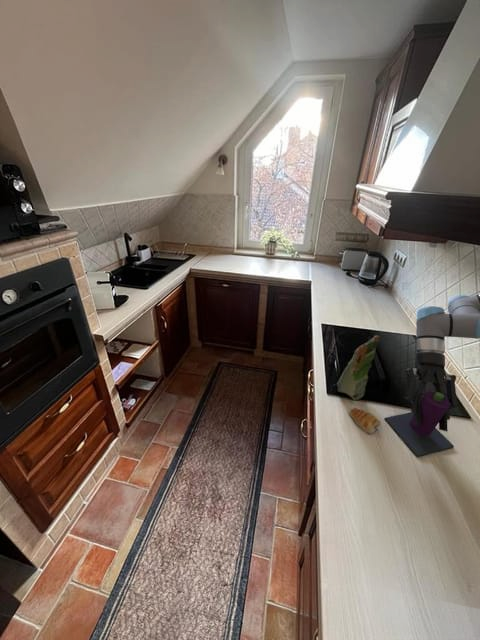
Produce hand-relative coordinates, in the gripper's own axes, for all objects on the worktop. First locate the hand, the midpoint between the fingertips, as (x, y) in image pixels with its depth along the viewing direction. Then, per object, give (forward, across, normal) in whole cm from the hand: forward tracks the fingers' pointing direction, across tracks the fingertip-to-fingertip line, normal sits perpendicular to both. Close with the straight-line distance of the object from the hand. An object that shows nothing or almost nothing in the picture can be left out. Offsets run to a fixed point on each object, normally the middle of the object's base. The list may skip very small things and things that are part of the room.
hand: (430, 427), depth 77 cm
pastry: (+3, +16, -8) cm, 18 cm away
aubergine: (+1, 0, -6) cm, 6 cm away
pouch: (-7, +19, -18) cm, 27 cm away
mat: (+3, 0, -8) cm, 8 cm away
